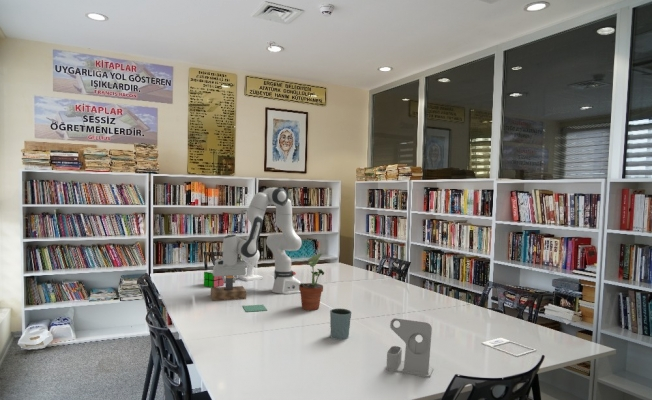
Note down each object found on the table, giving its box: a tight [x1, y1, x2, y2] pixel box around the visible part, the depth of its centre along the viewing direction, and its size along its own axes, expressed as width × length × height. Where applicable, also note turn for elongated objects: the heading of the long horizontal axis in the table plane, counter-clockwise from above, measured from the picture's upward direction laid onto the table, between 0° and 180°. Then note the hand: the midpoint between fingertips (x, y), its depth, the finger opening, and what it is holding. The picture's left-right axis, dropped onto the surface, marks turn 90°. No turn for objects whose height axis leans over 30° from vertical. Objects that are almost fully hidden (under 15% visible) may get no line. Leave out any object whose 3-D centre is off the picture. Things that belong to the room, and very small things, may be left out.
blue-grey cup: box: [329, 308, 352, 340], centre depth 201 cm, size 10×10×12 cm
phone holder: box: [385, 317, 434, 378], centre depth 166 cm, size 17×10×18 cm, turn 68°
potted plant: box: [299, 253, 325, 311], centre depth 249 cm, size 16×15×35 cm
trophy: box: [237, 250, 264, 282], centre depth 327 cm, size 14×14×25 cm
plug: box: [224, 276, 234, 290], centre depth 265 cm, size 4×4×12 cm
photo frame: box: [480, 337, 537, 358], centre depth 193 cm, size 15×1×18 cm
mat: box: [242, 304, 268, 313], centre depth 244 cm, size 12×12×1 cm
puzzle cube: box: [203, 269, 225, 288], centre depth 300 cm, size 10×10×10 cm
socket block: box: [210, 285, 247, 302], centre depth 264 cm, size 20×14×6 cm
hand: (229, 282), depth 265 cm, fingers closed on plug, 4 cm apart
